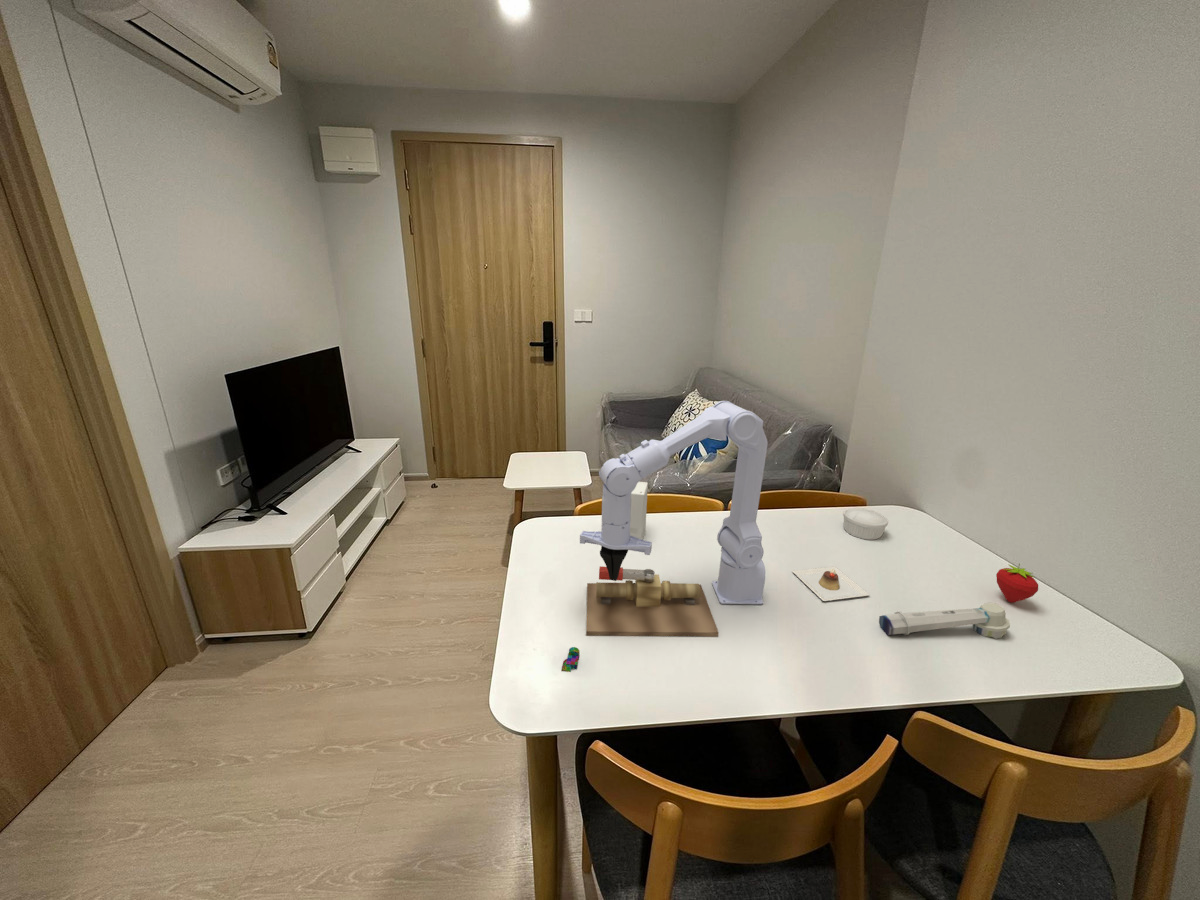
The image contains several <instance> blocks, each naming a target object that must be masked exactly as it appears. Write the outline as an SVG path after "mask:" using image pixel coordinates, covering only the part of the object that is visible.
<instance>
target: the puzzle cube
mask: <svg viewBox="0 0 1200 900" xmlns="http://www.w3.org/2000/svg"><path fill="white" fill-rule="evenodd" d="M579 658H580V649H579V648H577V647H576V646H572V647H570V648H569V649H568V654H567V658H566V659H564V660H563V662H562V666H561V672H566V673H571V672H572V670H577V669H578V665H579V660H580V659H579Z"/></svg>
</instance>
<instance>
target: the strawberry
mask: <svg viewBox="0 0 1200 900" xmlns="http://www.w3.org/2000/svg"><path fill="white" fill-rule="evenodd" d="M1008 566H1009V568H1008V567H1004V568H1000V569H999V570H998V571H997V573H996V583H997V586H998V588H999V590H1000V592H1001V593H1002V594H1003V596H1004V598H1005V600H1006V601H1007V602H1008V603H1010V604H1011V603H1012V604H1013V603H1014V604H1015V603H1016V602H1020V601H1024V600H1027V599H1029V598H1031V597H1034V595H1035V594H1036V593H1038V591H1039V583H1038V582H1037V581H1036V579H1035V576H1034V575H1033V574H1034V573H1033V572H1030V571H1027V570H1026V568H1020V566H1021V565H1020V563H1018V567H1015V566H1013V565H1011V564H1008Z"/></svg>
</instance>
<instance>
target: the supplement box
mask: <svg viewBox="0 0 1200 900" xmlns="http://www.w3.org/2000/svg"><path fill="white" fill-rule="evenodd" d="M648 486H649V483H648V482H647V481H646V482H645V481H639V482H638V483H637V485H636V487H635V489H634V490H633V491H632V492H631V521H630V535H631V536H634V537H637V538H639V539H642V540H644V537H645V534H646V526H647V525H646V524H647V510H648V509H647V508H648V507H647V506H648V505H647V503H648V489H649V488H648Z"/></svg>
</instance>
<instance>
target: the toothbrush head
mask: <svg viewBox="0 0 1200 900" xmlns="http://www.w3.org/2000/svg"><path fill="white" fill-rule="evenodd" d="M1006 614H1007V613H1006V609H1005V608H1004V607H1003V606H1002V605H1000V604H997V603H994V602H984V603H982V604H981V605H980V606H979V607H977V608H962V609H946V610H945V609H944V610H930V611H929V610H928V611H914V612H902V611H897V612H894V613H892V614H884V615H883V614H882V615H880V616H878V617H879V618H878V624H879V626H880V630H882V631H883V633H884V634H886V636H891V635H892V636H893V635H901V634H902V635H903V636H907V635H910V634H911V633H914V632H915V633H916V632H925V631H932V630H937V629H938V630H940V629H946V628H955V627H961V626H962V627H963V626H969V625H972V628H973V630H974V631H975V632H976V633H978V634H979V635H982V636H984V637H990V638H993V639H1002V637H1003V636H1005V635H1006V633H1007V631H1008V629H1010V626H1011V622H1010V619H1008V618H1007V617H1006V616H1007V615H1006Z"/></svg>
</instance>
